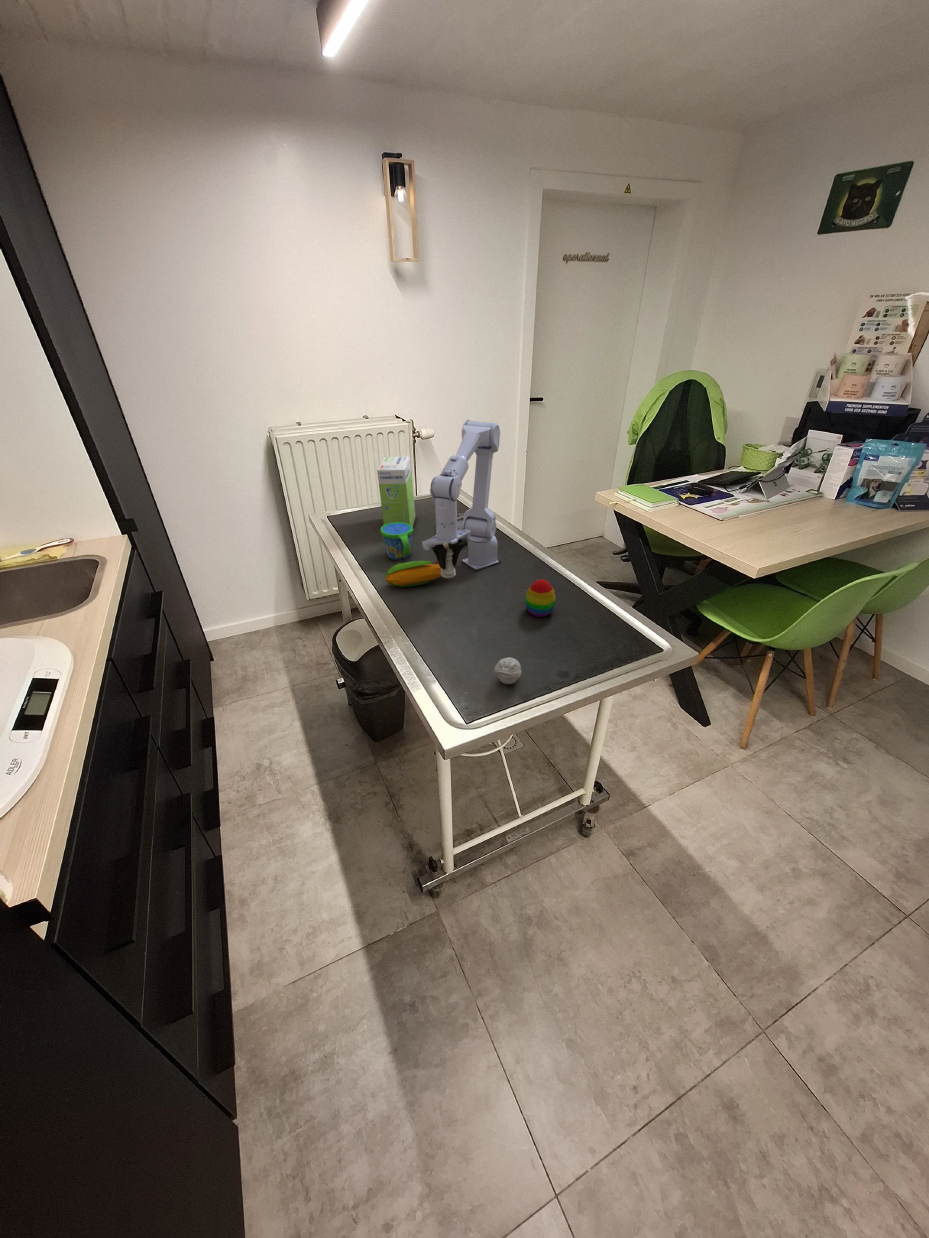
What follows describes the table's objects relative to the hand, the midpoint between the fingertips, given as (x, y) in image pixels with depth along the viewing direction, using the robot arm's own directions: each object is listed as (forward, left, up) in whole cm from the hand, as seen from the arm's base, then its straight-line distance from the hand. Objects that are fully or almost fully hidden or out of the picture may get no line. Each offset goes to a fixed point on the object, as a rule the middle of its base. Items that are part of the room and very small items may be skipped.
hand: (447, 566), depth 138 cm
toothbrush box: (-14, -55, -10) cm, 57 cm away
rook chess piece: (0, 0, -3) cm, 3 cm away
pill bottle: (-10, -18, -10) cm, 23 cm away
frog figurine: (+10, +40, -10) cm, 43 cm away
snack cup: (-1, -32, -10) cm, 33 cm away
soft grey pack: (-28, -32, -10) cm, 43 cm away
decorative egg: (-16, +22, -10) cm, 29 cm away
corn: (+3, -12, -10) cm, 16 cm away
